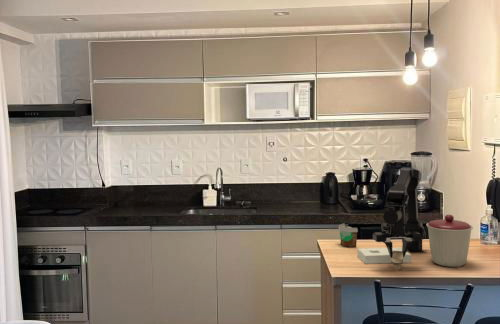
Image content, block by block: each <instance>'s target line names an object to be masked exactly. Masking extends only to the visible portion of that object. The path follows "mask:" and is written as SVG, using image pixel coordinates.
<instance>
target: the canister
mask: <svg viewBox="0 0 500 324" xmlns="http://www.w3.org/2000/svg"><path fill="white" fill-rule="evenodd" d="M425 225H426V227H427V230H428V231H427V232H428V239H429V240H428V243H429V250H430V256H431V260H432V261H433V263H435V264H436V265H439V266H443V267H449V268H450V267H452V268H457V267H458V268H459V267H462V266H464V265H465V264H466V263H467V260H468V254H469V249H470V242H471V241H470V240H471V233H472V230H473V229H474V227H473V225H471V224H469V223H468V222H465V221H462V220H456V219H455V216H454V215H452V214H445V216H444V219H434V220H430V221H429V222H427V223H426V224H425Z"/></svg>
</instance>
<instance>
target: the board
mask: <svg viewBox="0 0 500 324" xmlns="http://www.w3.org/2000/svg"><path fill="white" fill-rule="evenodd" d="M392 251H402V247H392ZM357 257H358V258H359V259H360V260H361V262H363V264H364V265H365V264H366V265H368V264H370V265H373V264H392V263H391V257H390V255H389V252H388V249H387V247H372V248H370V247H368V248H363V247H362V248H357ZM405 263H406V264H407V263H409V264H411V263H412V254H411V252H409V251H407V252H406V254H405V256H404V257H403V264H405Z"/></svg>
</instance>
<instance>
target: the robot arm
mask: <svg viewBox="0 0 500 324" xmlns="http://www.w3.org/2000/svg"><path fill="white" fill-rule="evenodd" d="M421 179H422V172H421V171H420V170H419V169H414V168H413V167H404V166H403V167H401V168H400V170H399V175H398V177H397V180H396V182H395V184H394V185H391V187H390V188H389V189H388V191H387V193H386V197H385V203H384V207H386V208H387V209H386V210H385V212H383V215H382V216H383V220H384V222H383V223H382V222H381V225H380V227H381V228H380V229H381V232H380V231H379V232H377V231H376V232H373V233H372V240H374V241H375V242H377V243H383V244H385V247H386V248H387V249H388V252H389V255H390V257H391V258H392V248H393V242H392V241H391V240H401V242H402V246H401V248H402V252H403V257H404V256H405V254H406V252H408V253H423V252H424V250H423V240H424V239H426V231H425V228H424V226H423V221H422V220H421V219H420V217H419V209H418V208H419V207H418V205H419V204H418V186H419V185H420V182H421ZM406 207H407V220H406V221H405V218H406V217H405V216H406V215H405V214H406V213H405V212H406V211H405V208H406ZM384 232H385V233H384Z"/></svg>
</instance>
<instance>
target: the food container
mask: <svg viewBox="0 0 500 324" xmlns="http://www.w3.org/2000/svg"><path fill="white" fill-rule="evenodd" d="M338 231H339V238H340V240H339V241H340V246H341V247H344V248H350V249H352V248H354V249H355V248H357V240H358V232H359V229H358V227H352V226H348V225H346V224H345V223H341V224H339V225H338Z"/></svg>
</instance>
